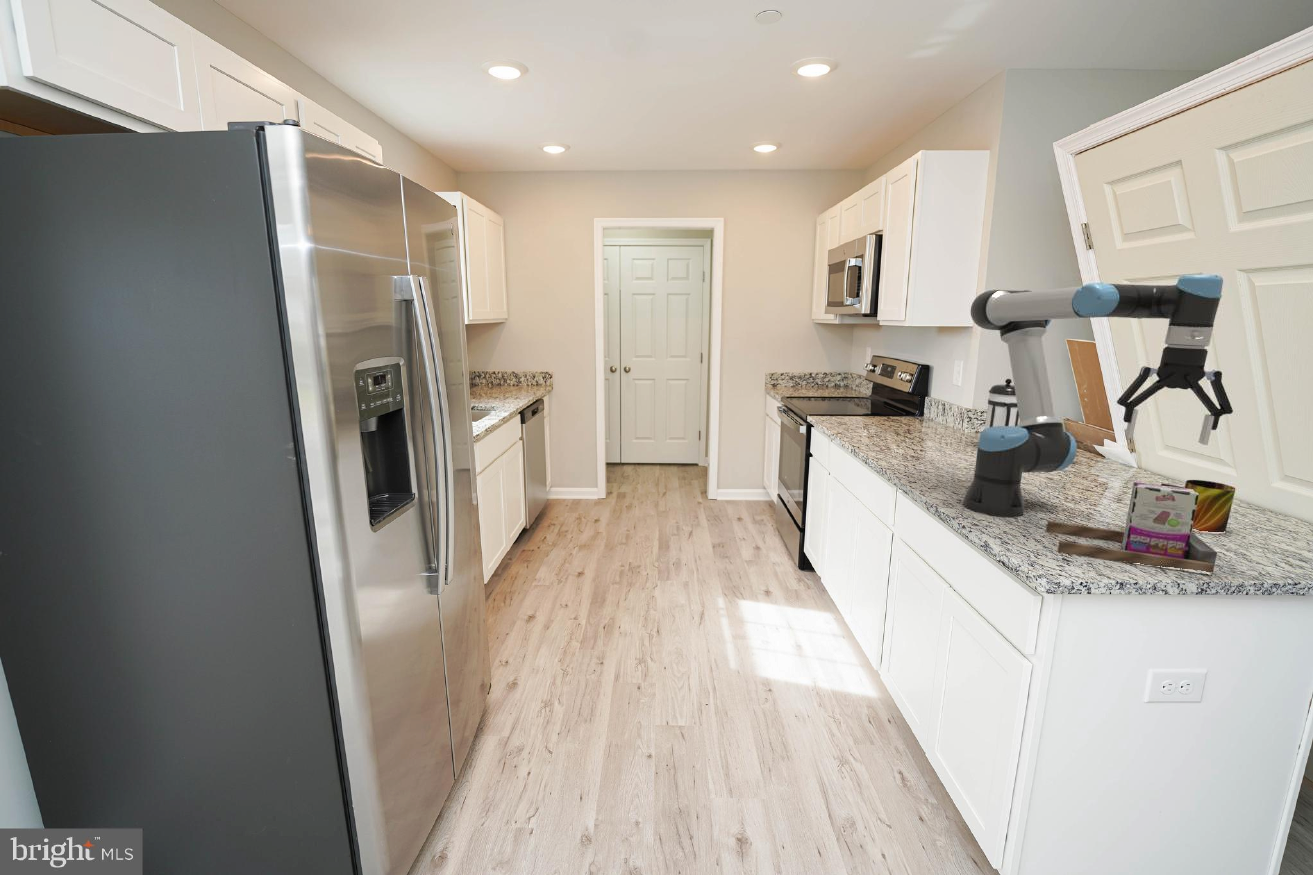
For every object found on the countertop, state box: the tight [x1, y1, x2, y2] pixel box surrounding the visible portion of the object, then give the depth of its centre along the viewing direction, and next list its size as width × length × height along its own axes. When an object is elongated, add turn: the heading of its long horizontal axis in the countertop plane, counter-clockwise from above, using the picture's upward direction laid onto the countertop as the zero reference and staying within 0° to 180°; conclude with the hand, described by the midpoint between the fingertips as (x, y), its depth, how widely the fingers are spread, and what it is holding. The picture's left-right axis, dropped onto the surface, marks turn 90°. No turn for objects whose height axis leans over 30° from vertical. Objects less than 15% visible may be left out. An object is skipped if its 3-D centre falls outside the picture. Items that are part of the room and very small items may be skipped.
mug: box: [1160, 479, 1236, 532], centre depth 158 cm, size 10×14×12 cm
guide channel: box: [1046, 520, 1218, 573], centre depth 140 cm, size 28×16×5 cm, turn 66°
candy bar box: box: [1121, 481, 1199, 559], centre depth 137 cm, size 11×5×16 cm, turn 60°
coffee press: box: [984, 378, 1020, 429], centre depth 241 cm, size 17×16×30 cm
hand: (1165, 440), depth 136 cm, fingers open, 13 cm apart
